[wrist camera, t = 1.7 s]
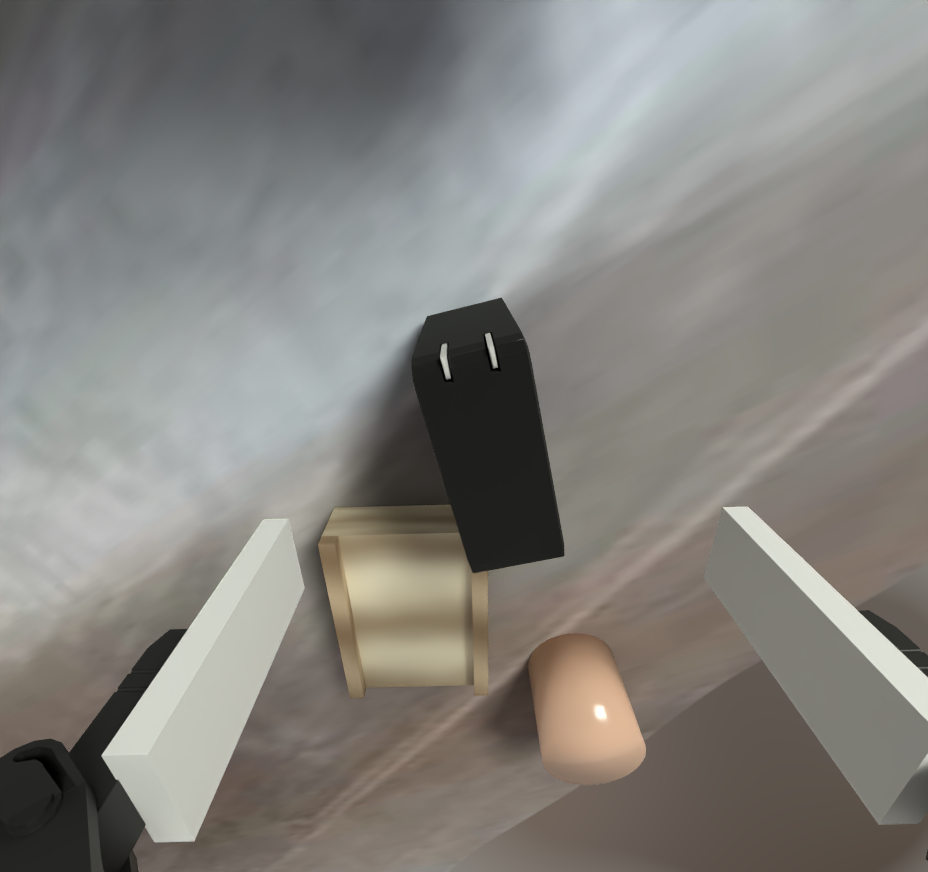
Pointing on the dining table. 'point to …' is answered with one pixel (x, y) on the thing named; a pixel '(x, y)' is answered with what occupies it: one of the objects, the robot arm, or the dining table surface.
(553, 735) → the peach rounded cylinder
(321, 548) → the stand
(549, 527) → the electronic device
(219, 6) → the dining table surface
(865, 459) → the dining table surface
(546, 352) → the dining table surface
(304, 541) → the dining table surface
